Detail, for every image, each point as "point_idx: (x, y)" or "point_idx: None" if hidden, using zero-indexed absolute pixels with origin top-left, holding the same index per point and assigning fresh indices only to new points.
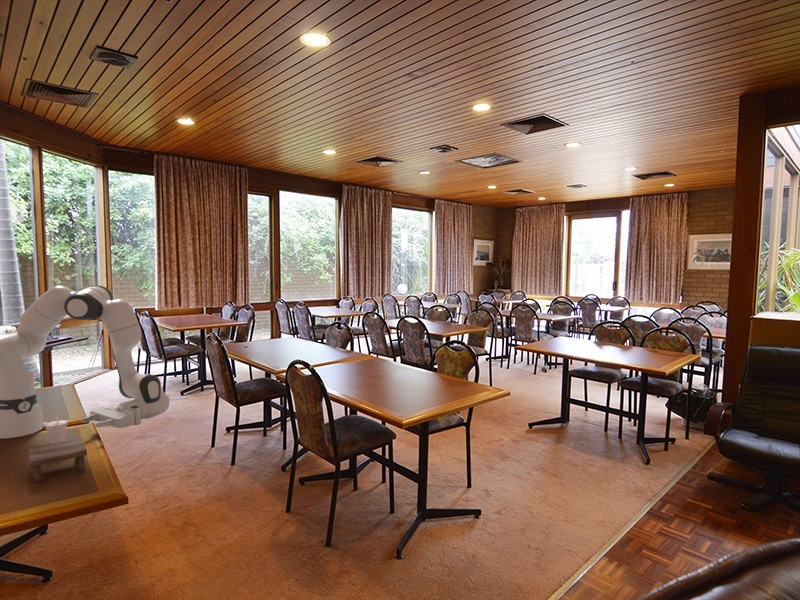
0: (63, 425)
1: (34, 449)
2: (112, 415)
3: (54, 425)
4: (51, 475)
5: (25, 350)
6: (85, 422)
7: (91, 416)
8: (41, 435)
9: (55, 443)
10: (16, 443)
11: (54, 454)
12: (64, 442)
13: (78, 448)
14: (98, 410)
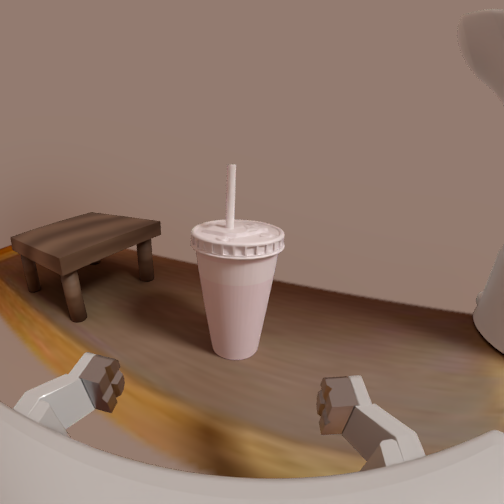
0: (194, 240)
1: (134, 221)
2: (33, 457)
3: (210, 223)
4: (87, 274)
5: None
6: (317, 403)
7: (386, 441)
8: (471, 361)
9: (111, 234)
10: (424, 317)
11: (66, 222)
12: (89, 239)
13: (30, 236)
14: (473, 490)
